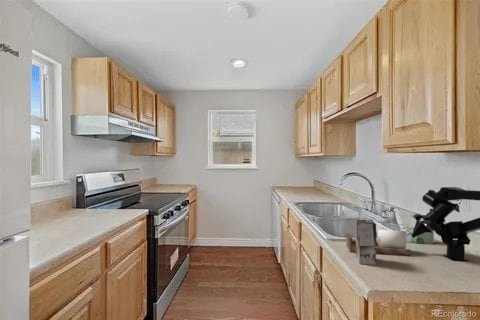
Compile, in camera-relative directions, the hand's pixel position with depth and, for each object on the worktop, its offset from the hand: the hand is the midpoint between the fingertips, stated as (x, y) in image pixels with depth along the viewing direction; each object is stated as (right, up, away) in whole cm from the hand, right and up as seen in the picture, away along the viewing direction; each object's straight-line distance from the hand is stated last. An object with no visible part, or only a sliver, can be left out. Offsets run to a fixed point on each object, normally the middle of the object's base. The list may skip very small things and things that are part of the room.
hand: (412, 236), depth 137 cm
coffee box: (-26, -7, -12) cm, 29 cm away
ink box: (+14, -7, +17) cm, 23 cm away
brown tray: (-15, -7, +3) cm, 16 cm away
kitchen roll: (-9, -6, +1) cm, 10 cm away
